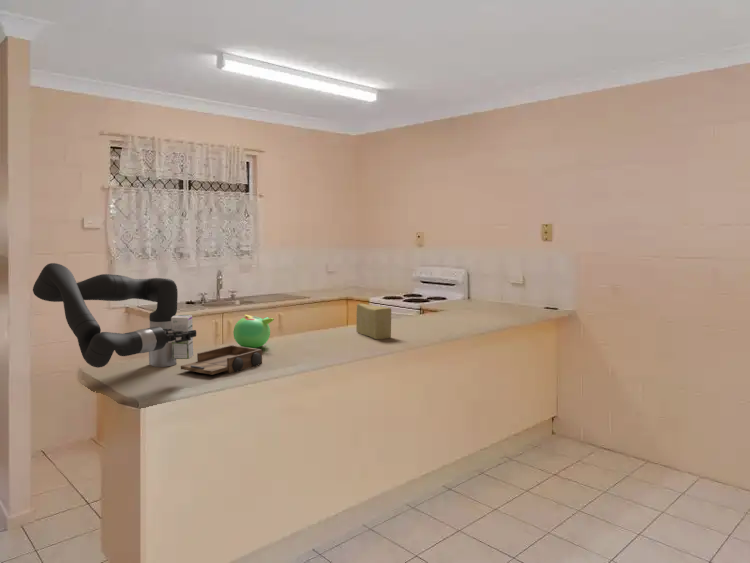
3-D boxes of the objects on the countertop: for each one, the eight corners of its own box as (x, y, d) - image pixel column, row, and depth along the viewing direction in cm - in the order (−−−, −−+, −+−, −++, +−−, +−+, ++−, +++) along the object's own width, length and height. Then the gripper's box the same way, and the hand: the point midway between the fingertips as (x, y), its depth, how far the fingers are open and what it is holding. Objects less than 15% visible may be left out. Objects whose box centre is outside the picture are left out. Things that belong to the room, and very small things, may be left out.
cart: (196, 367, 217) (195, 353, 217) (230, 358, 233) (229, 344, 232) (230, 373, 208) (230, 358, 208) (263, 363, 224) (263, 349, 224)
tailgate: (180, 369, 209) (180, 364, 209) (197, 364, 216) (197, 359, 216) (211, 374, 202) (211, 369, 202) (228, 369, 209) (228, 365, 208)
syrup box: (193, 355, 200) (192, 314, 199) (189, 359, 194) (187, 316, 193) (177, 355, 200) (176, 314, 198) (171, 359, 194) (170, 316, 193)
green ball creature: (231, 344, 259) (230, 312, 258) (268, 342, 265) (268, 310, 264) (236, 353, 243) (235, 318, 241) (276, 350, 249) (276, 316, 247)
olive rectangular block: (349, 333, 291) (349, 303, 289) (365, 331, 296) (365, 302, 295) (375, 340, 273) (376, 308, 272) (391, 337, 279) (392, 307, 278)
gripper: (132, 349, 188) (172, 340, 202) (163, 354, 181) (202, 344, 195) (132, 326, 187) (172, 319, 201) (162, 330, 180) (201, 322, 194)
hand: (186, 331), depth 198 cm, fingers closed on syrup box, 8 cm apart
